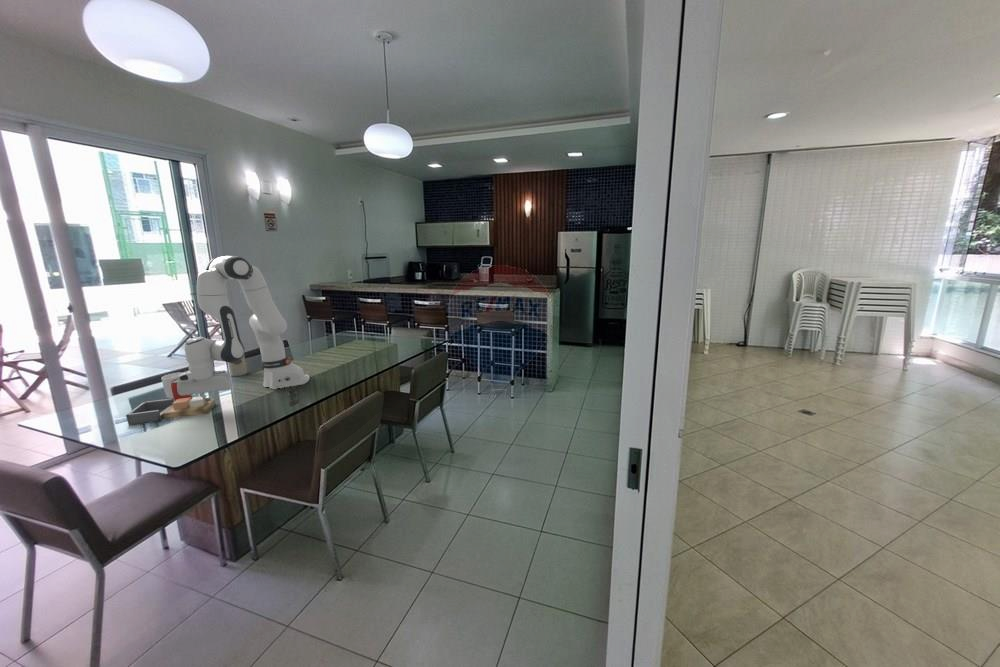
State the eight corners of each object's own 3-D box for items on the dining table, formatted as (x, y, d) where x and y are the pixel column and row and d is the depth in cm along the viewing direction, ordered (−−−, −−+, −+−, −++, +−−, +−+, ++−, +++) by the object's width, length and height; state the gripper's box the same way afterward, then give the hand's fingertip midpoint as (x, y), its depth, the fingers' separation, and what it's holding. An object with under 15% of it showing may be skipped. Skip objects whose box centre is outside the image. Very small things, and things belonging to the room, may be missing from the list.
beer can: (196, 401, 187) (190, 378, 184) (181, 407, 181) (175, 383, 178) (187, 399, 189) (181, 377, 186) (172, 405, 183) (166, 382, 180)
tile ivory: (207, 401, 179) (206, 395, 178) (203, 405, 175) (202, 399, 174) (194, 403, 178) (193, 397, 177) (190, 407, 173) (189, 401, 172)
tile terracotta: (191, 403, 177) (190, 397, 177) (187, 407, 173) (185, 401, 172) (178, 405, 176) (177, 399, 175) (173, 409, 171) (172, 403, 170)
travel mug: (232, 373, 225) (226, 343, 221) (248, 370, 229) (243, 342, 224) (230, 377, 218) (223, 347, 214) (246, 375, 222) (240, 345, 217)
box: (175, 408, 180) (173, 398, 178) (160, 421, 167) (157, 410, 165) (146, 411, 176) (143, 401, 175) (128, 425, 163) (125, 415, 162)
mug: (172, 401, 188) (167, 379, 185) (162, 398, 191) (157, 377, 188) (199, 392, 198) (195, 371, 195) (189, 389, 202) (185, 369, 199)
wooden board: (215, 404, 183) (214, 398, 182) (206, 413, 173) (205, 407, 172) (175, 409, 178) (174, 403, 178) (164, 419, 168) (162, 413, 167)
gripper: (231, 367, 180) (236, 395, 183) (178, 373, 173) (185, 401, 177) (226, 372, 174) (232, 400, 177) (172, 378, 167) (179, 407, 171)
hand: (208, 400), depth 177 cm, fingers closed
